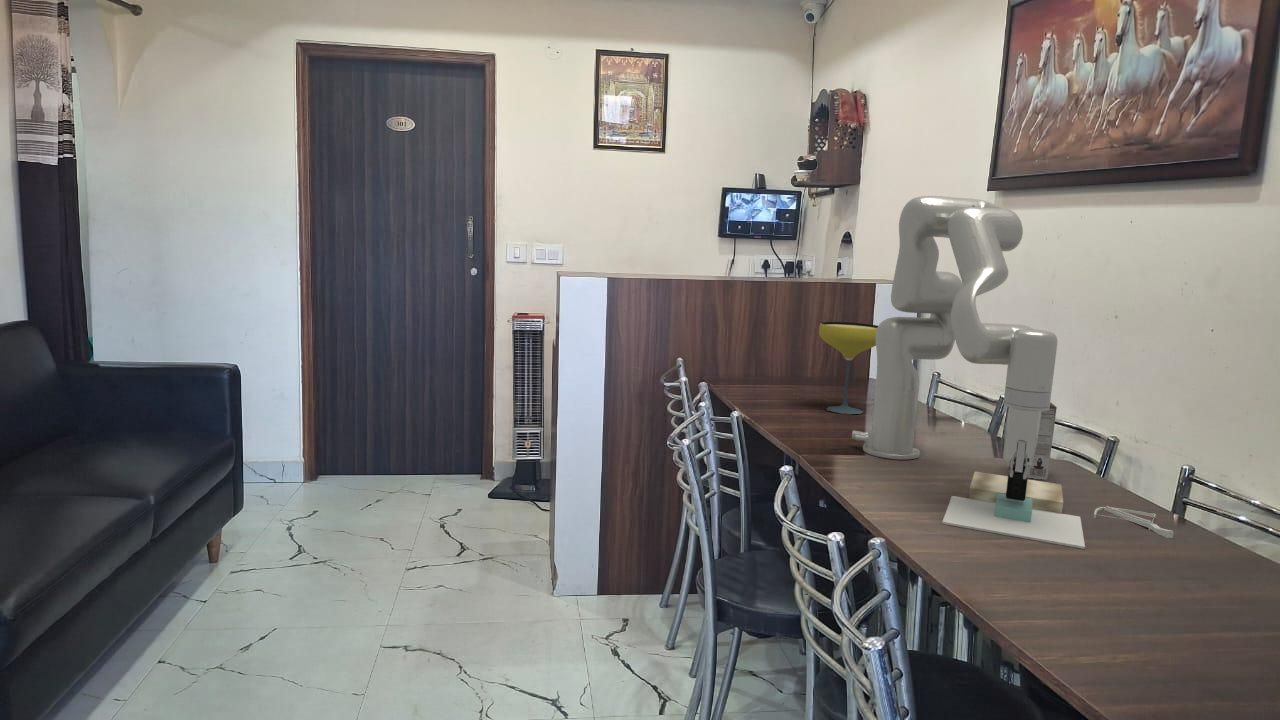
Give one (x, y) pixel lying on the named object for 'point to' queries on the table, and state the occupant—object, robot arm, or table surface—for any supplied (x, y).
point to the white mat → (1015, 523)
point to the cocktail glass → (848, 348)
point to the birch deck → (1040, 492)
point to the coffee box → (1043, 446)
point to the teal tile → (1013, 508)
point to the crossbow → (1137, 519)
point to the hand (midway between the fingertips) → (1015, 498)
